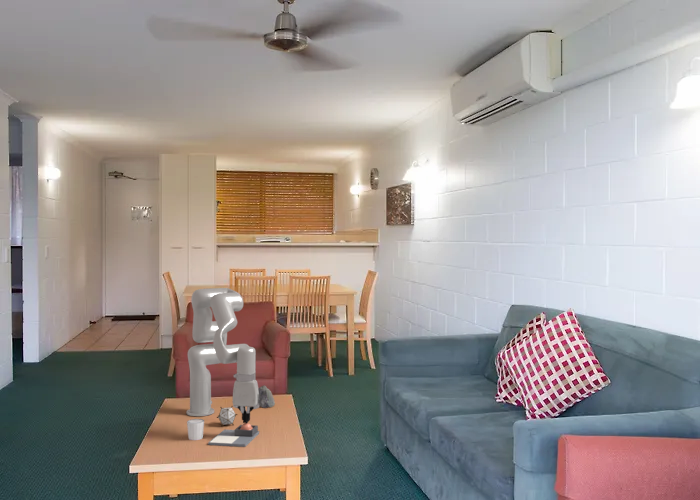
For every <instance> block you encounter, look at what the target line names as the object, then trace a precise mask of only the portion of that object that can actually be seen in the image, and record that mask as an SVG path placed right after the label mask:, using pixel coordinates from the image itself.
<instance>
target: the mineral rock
mask: <svg viewBox="0 0 700 500" xmlns="http://www.w3.org/2000/svg"><path fill="white" fill-rule="evenodd" d="M258 390H259V403H258V404H259V407H261V408H264V409H266V408H272V407H274V406H275V404H276V402H275V398H274V395H273V393H272V391H271V390H270V389H269V388H267V386H266V385H265V384H264V385H261V386H260V387H258Z"/></svg>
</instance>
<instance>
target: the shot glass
mask: <svg viewBox="0 0 700 500" xmlns="http://www.w3.org/2000/svg"><path fill="white" fill-rule="evenodd" d="M186 425H187V436H188V440H190V441H198V440H202V439H203V436H204V429H205V427H204V426H205V419H202V418H191V419H189V420H187V421H186Z"/></svg>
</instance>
